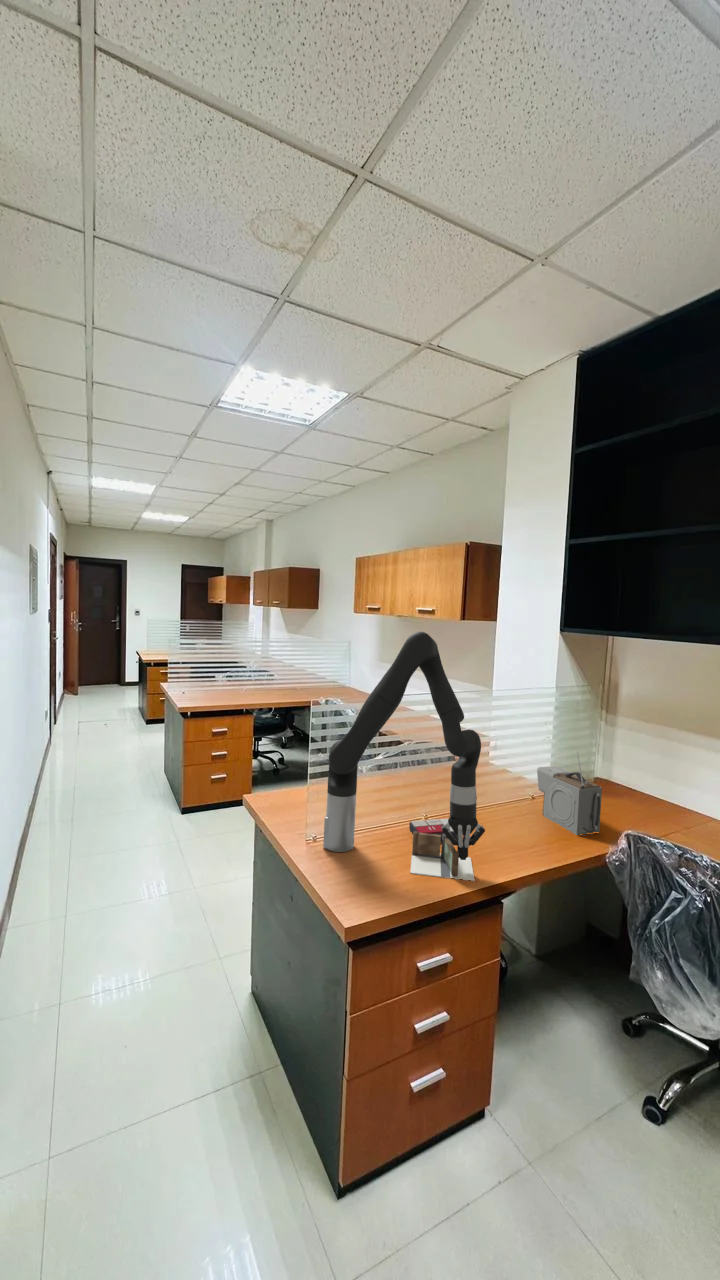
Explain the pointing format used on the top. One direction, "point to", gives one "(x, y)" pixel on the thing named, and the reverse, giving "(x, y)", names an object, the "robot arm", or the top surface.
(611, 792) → the top surface
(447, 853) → the panel
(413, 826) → the calculator
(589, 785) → the portable television
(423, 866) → the card
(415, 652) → the robot arm
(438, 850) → the fence fixed section
